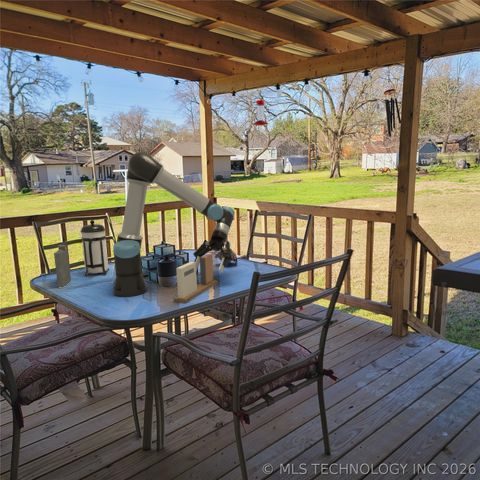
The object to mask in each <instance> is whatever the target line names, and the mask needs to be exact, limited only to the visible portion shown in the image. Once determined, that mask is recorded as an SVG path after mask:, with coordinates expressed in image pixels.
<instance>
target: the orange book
mask: <svg viewBox="0 0 480 480" xmlns="http://www.w3.org/2000/svg"><path fill="white" fill-rule="evenodd" d="M213 261H214V260H213V254H210V253H208V254H207V253H206V254H205V255H204V256H202V257H200V263H199V267H200V268H199V270H200V271H199V272H200V283H201V284H207V283H209V282H211V281H212V280H214V266H213Z"/></svg>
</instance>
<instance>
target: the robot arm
mask: <svg viewBox="0 0 480 480" xmlns="http://www.w3.org/2000/svg"><path fill="white" fill-rule="evenodd" d="M127 165H128V166H127V172H126V181H127V182H128V188H127V195H126V202H125V208H124V215H123V221H122V222H123V223H122V227H121V232H120V233H118V234H117V239H116V242H115V243H114V244H113V249H112V253H113V258H114V270H115V280H114V284H113V289H112V292H113V293H112V294H113V295H114V296H117V297H126V298H127V297H134V296H139V295H142V294H145V293H146V292H147V291H148V285H147V283H146V280H145V278H144V275H143V272H142V271H143V270H142V268H143V267H142V257H141V248H142V242H143V237H142V236H141V235H140V234H141V228H142V222H143V215H144V209H145V204H146V197H147V192H148V191H147V189H148V186H150V185H151V184H152V185H153V184H156V185H157V186H159V187H160V188H161V189H164V190H165V191H167V192H168V193H169V194H171V195H173V196H174V197H176V198H177V199H179V200H181V201H182V202H184V203H185V204H187V205H188V206H190V207H191V208H193V209H195V210H196V211H197V213H199V214H201V215H203V216H204V217H206V218H208V219H209V220H212V221H214V222H215V226H214V228H213V232H212V234H211V236H210V240H207V239H204V240H203V242H202V244H201V245H199V247H198V248H197V249H196V250H195V251H194V252H193V257H195V258H194V261H193V262H196V271H198V268H199V267H200V257H203V256H205V255H207V253H208V252H211V251H215V250H221V252H222V254H223V256H224V258H225V259H224V258H222V261H221V260H220V261H221V262H220V264H219V268H218V270H219V273H223V271H224V268H225V267H226V266H227V264H228V263H227V261H228V260H232V255H231V251H230V249H231V243H230V241H229V240H227V239H228V235H229V232H230V229H231V226H232V223H233V220H234V218H235V210H234V209H233V208H232V207H230V206H226V205H225V206H223V207H222V206H221V205H220V204H217V203H216V202H214V201H213V200H211V199H210V198H208V197H206V196H205V195H204V194H202V193H201V192H199V191H198V190H196V189H195V188H193V187H191V186H190V185H189V184H187V183H185V182H184V181H182V180H181V179H180V178H178V177H177V176H175V175H173V174H172V173H171V172H169V171H168V170H166V169H165V167H164V165H163V164H162V163H160V162H158V161H157V160H156V159H155V158H154V157H152V156H151V155H150V154H149V153H148V152H144V151H138V152H135V153H134V154H132V155H131V156H130V157H129V160H128V164H127ZM224 247H225V248H227V253H228V256H226V254H225V252H224V250H223V248H224ZM208 254H209V253H208Z"/></svg>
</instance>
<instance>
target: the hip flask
mask: <svg viewBox="0 0 480 480" xmlns="http://www.w3.org/2000/svg"><path fill="white" fill-rule="evenodd" d="M57 248H58V250H57V251H55V252H53V257H54V267H55V275H56V281H57V282H56V283H57V288H58V287H64V286H66V285H67V284H68V283H69V282H70V281H71V282H72V278H71V277H72V276H71V269H70V260H69V252H68V247H66V244H60V245H59V244H58V245H57ZM71 282H70V283H71ZM70 283H69V284H70ZM69 284H68V285H69ZM68 285H67V286H68ZM67 286H66V287H67ZM64 288H65V287H64Z"/></svg>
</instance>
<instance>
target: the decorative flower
mask: <svg viewBox="0 0 480 480" xmlns="http://www.w3.org/2000/svg"><path fill="white" fill-rule="evenodd" d="M222 248H223V250H224V252H225V254H226V256H228V253H227V248H226V247H222ZM230 251H231V255H232V260H228V261H227V264H228V263H232V262H234V265H235V266H237V265H238V257H237V255H236V253H235V252H234V251H233V250H232V248H230ZM214 253H216V254H215V256H214V258H215V259H217V258H218V260H220V261H222V258H224V256H223V254H222V252H221V250H214ZM224 259H225V258H224Z"/></svg>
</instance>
